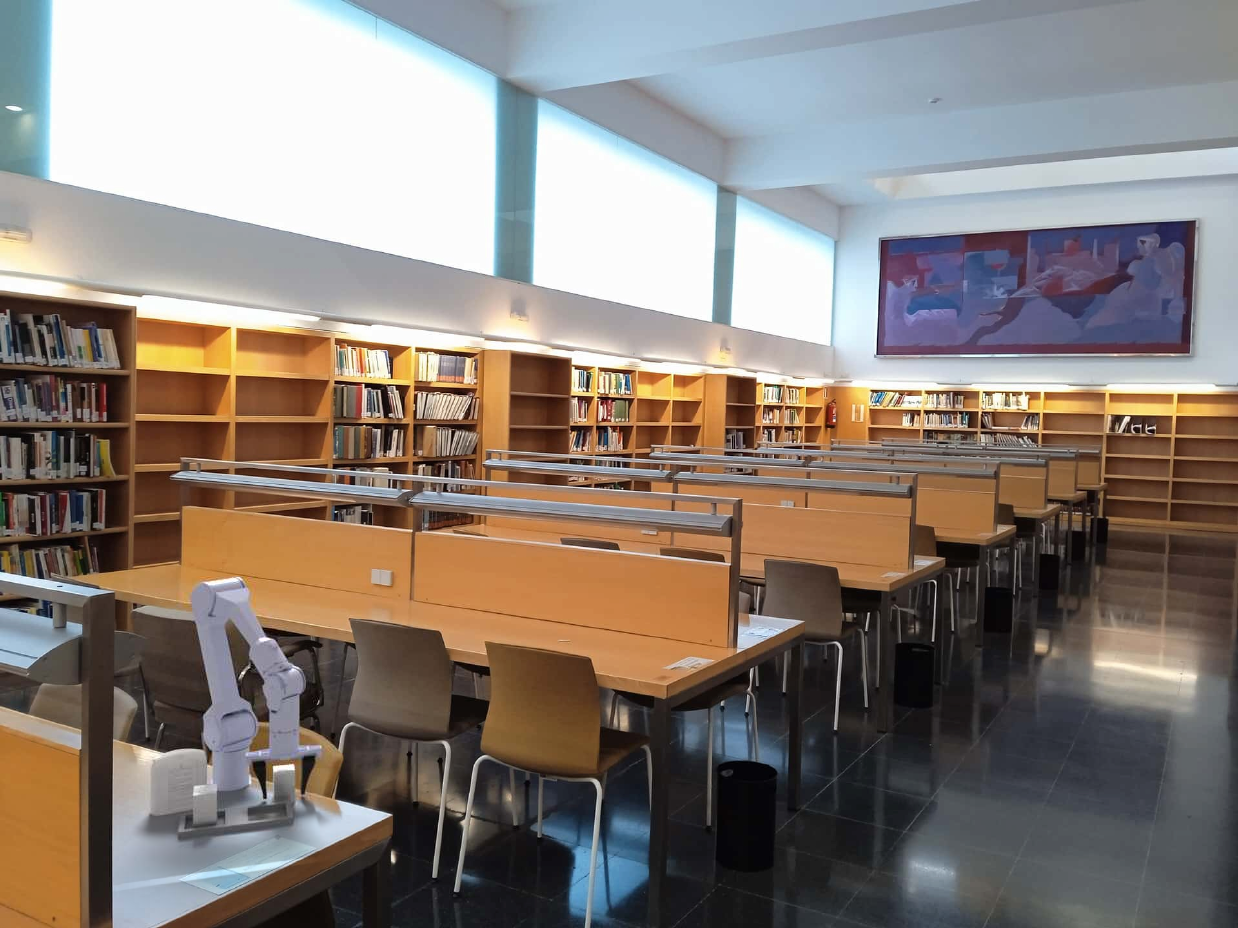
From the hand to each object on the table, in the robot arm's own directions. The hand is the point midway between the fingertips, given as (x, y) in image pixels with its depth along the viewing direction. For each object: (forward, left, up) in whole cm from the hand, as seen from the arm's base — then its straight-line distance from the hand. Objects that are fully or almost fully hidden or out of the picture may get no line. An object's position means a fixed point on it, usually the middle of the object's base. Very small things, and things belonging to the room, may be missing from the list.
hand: (283, 795), depth 197 cm
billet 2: (0, 0, -2) cm, 2 cm away
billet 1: (+9, -14, -1) cm, 17 cm away
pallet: (+9, -9, -2) cm, 13 cm away
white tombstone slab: (-2, -20, -2) cm, 20 cm away
